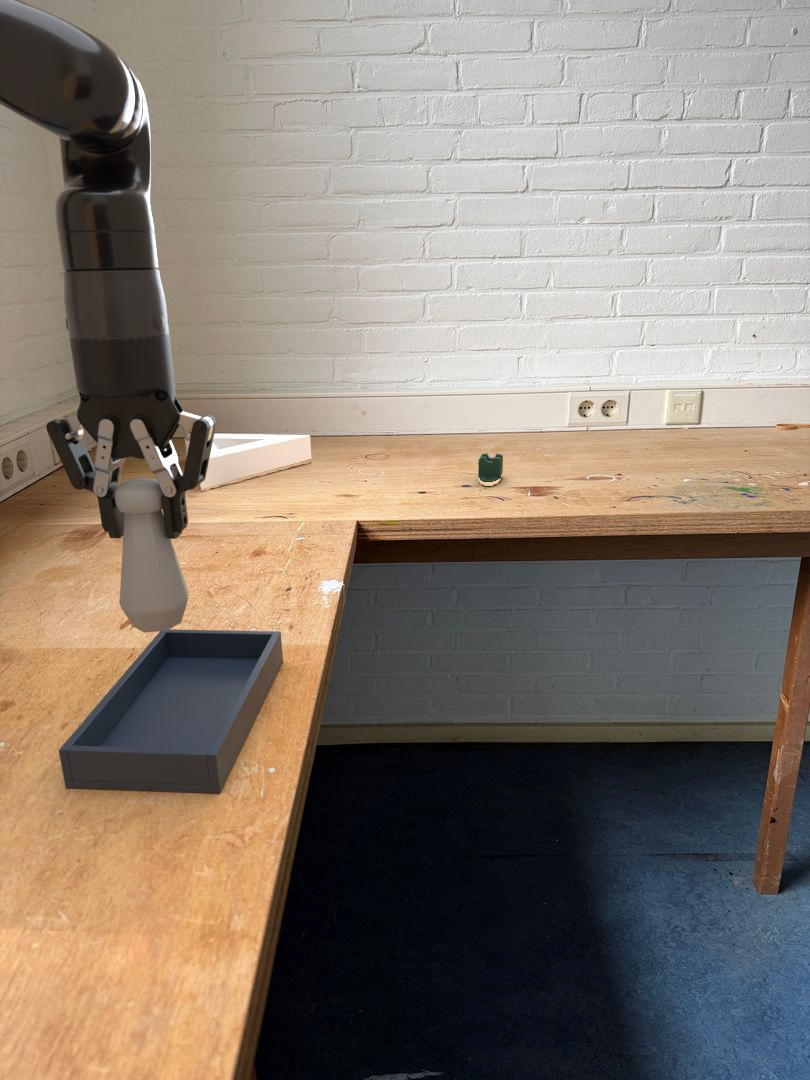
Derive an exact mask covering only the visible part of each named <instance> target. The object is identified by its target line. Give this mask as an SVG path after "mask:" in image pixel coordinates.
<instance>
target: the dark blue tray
mask: <svg viewBox="0 0 810 1080" xmlns="http://www.w3.org/2000/svg"><path fill="white" fill-rule="evenodd" d="M283 663H284V656H283V642H282V632H281V631H280V630H279V631H278V630H277V631H276V630H275V631H273V630H228V629H227V630H224V629H223V630H222V629H220V630H219V629H172V628H170V629H169V630H167V631H158V633H157V634H156V636H155V637H154V638H153V639H152V640H151V641H150V642H149V643H148V645H147V646H146V647H145V648H144V650H142V652H141V653H140V654H139V655H138V657H136V659H135V660H134V661H133V662H132V664H131V665H130V666H129V667H128V668H127V669H126V670H125V672H124V673H123V674H122V675H121V676H120V677H119V679H118V680H117V681H116V682H115V684H114V685H113V686H112V687H111V688H110V689H109V691H107V693H106V694H105V695H104V696H103V698H102V699H101V700H100V701H99V702H98V703H97V704H96V706H95V707H94V708H93V709H92V710H91V711H90V713H89V714H88V715H87V716H86V718H85V719H84V720H83V721H82V722H81V723H80V725H79V726H78V727H77V728H76V729H75V730H74V731H73V732H72V734H71V735H70V736H69V737H68V739H66V741H65V742H64V743H63V744H62V745H61V746H60V748H59V749H58V754H59V755H58V756H59V760H60V765H61V771H62V776H63V783H64V787H65V788H66V789H83V790H84V789H85V790H86V789H87V790H111V791H112V790H113V791H114V790H115V791H138V792H139V791H143V792H171V793H195V794H221V793H222V790H223V789H224V786H225V785H226V782H227V781H228V778H229V776H230V774H231V772H232V770H233V767H234V765H235V763H236V761H237V759H238V757H239V755H240V753H241V751H242V749H243V747H244V744H245V743H246V740H247V738H248V736H249V734H250V732H251V729H252V728H253V725H254V724H255V722H256V720H257V718H258V715H259V713H260V711H261V709H262V707H263V705H264V703H265V700H266V698H267V697H268V694H269V692H270V691H271V688H272V687H273V684H274V682H275V679H276V678H277V676H278V673H279V671H280V669H281V667H282V666H283Z"/></svg>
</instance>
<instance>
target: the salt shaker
mask: <svg viewBox="0 0 810 1080" xmlns="http://www.w3.org/2000/svg"><path fill="white" fill-rule="evenodd" d="M163 496H165V495H164V494H163V492H162V490H161V488H160V485H159V483H158V481H157V478H149V477H147V478H145V477H143V478H142V477H141V478H133V479H130V480H126V481H124V482H122V483H119V486H118V488H117V489H116V490H115V503H116V506H117V508H118V510H120V511H121V512H124V513H125V516H124V533H123V536H122V550H121V551H122V553H121V555H122V556H121V567H120V570H121V571H120V572H121V573H120V585H119V586H120V587H119V605H120V606H119V607H120V608H121V611H122V612H123V613H124V615H125V616H126V618H127V619H128V621H129V622H130V623H131V626H132V627H133V628H134V629H137V630H139V631H141V632H143V633H156V632H158V633H159V632H160V631H167V630H169V629H172V628H174V627H177V626H178V625H180V624H181V623H182V622H183V617H184V614H185V611H186V608H187V604H188V600H189V590H188V586H187V584H186V580H185V578H184V574H183V571H182V568H181V566H180V562H179V559H178V556H177V554H176V550H175V547H174V544H173V540H172V539H167V538H166V533H165V525H164V516H163V508H162V500H161V498H162V497H163Z"/></svg>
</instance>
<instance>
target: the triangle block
mask: <svg viewBox="0 0 810 1080" xmlns="http://www.w3.org/2000/svg"><path fill="white" fill-rule="evenodd" d="M184 444H185V445H184V447H185V455H186V456H187V453H188V448H189V441H187V440H186V439H185V438H184ZM311 445H312V444H311V434H266V433H265V434H263V433H261V434H260V433H259V434H258V433H257V434H256V433H214V438H213V443H212V448H211V453H210V458H209V463H208V468H207V473H206V478H205V480H204V481H203V482H202V483H200V484H199V485H200V487H201V489H203V488H207V487H210V486H214V485H217V484H221V483H224V482H228V481H231V480H234V479H237V478H241V477H245V476H248V475H252V474H256V473H260V472H264V471H267V470H271V469H274V468H278V467H282V466H286V465H290V464H294V463H298V462H301V461H305V460H308V459H312V446H311ZM199 485H198V486H199ZM200 487H199V488H200ZM201 489H200V490H201Z"/></svg>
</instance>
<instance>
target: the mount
mask: <svg viewBox="0 0 810 1080" xmlns="http://www.w3.org/2000/svg"><path fill="white" fill-rule="evenodd" d="M477 464H478V466H477V467H478V470H477V471H478V474H477V475H478V476H477V477H479V478H480V480H481V481H483V482H493V481H496V480H498V479H500V478H501V475H502V473H503V472H504V455H503V454H502V453H495V456H494V457H490V455H489V453H487V452H483V453H481V455H480V457H479V459H478V463H477Z"/></svg>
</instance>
